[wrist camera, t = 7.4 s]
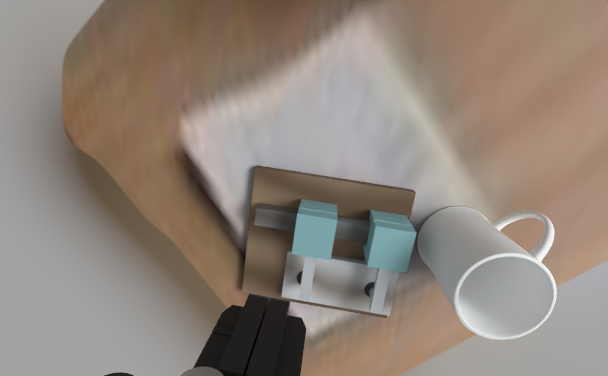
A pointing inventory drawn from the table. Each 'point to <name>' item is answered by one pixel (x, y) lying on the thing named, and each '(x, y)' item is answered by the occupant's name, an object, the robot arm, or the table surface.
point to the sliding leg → (313, 238)
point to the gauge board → (346, 247)
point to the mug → (489, 271)
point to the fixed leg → (387, 251)
